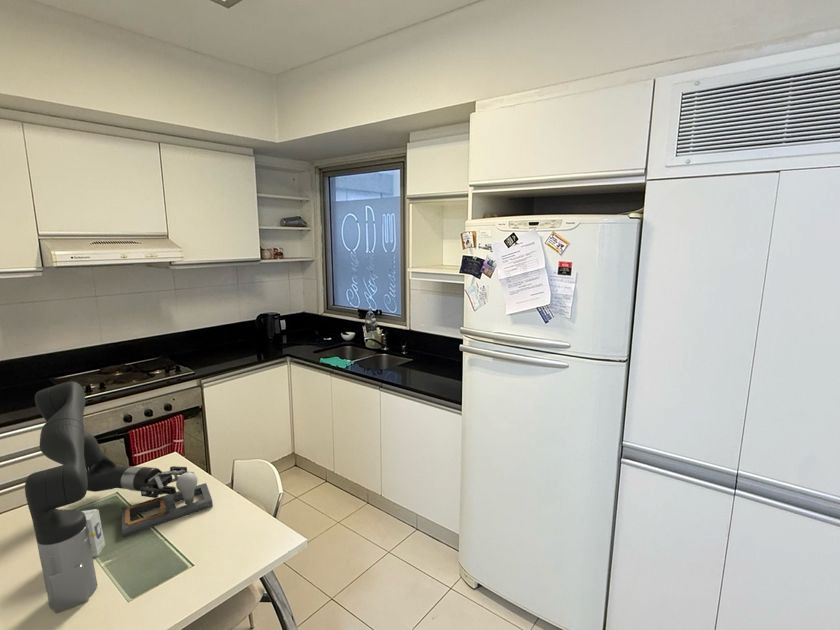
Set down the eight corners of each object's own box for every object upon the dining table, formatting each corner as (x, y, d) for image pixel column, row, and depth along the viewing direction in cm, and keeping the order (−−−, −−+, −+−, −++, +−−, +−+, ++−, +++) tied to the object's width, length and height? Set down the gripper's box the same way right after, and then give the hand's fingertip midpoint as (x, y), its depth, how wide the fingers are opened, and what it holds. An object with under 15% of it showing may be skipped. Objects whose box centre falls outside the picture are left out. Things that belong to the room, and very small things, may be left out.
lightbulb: (174, 508, 137) (170, 477, 135) (189, 497, 143) (186, 467, 141) (189, 511, 135) (185, 480, 134) (204, 500, 141) (200, 470, 139)
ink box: (105, 544, 121) (99, 507, 119) (97, 557, 116) (91, 518, 114) (70, 550, 119) (63, 512, 117) (60, 564, 114) (53, 524, 112)
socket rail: (212, 506, 138) (212, 499, 137) (123, 536, 124) (121, 528, 124) (206, 489, 147) (206, 482, 147) (123, 515, 134) (121, 507, 134)
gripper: (121, 480, 133) (166, 484, 130) (156, 457, 147) (198, 461, 144) (124, 502, 135) (169, 506, 132) (159, 477, 148) (200, 481, 146)
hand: (184, 483), depth 138 cm, fingers open, 8 cm apart
